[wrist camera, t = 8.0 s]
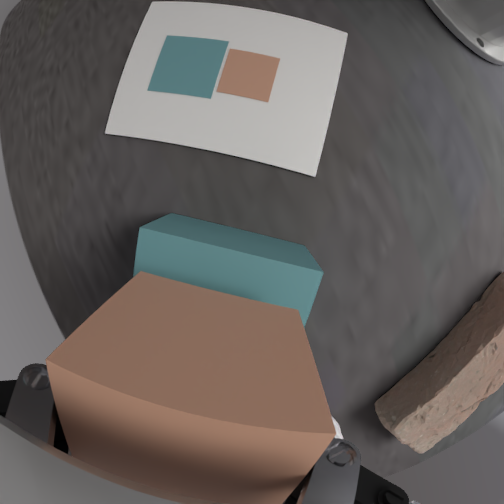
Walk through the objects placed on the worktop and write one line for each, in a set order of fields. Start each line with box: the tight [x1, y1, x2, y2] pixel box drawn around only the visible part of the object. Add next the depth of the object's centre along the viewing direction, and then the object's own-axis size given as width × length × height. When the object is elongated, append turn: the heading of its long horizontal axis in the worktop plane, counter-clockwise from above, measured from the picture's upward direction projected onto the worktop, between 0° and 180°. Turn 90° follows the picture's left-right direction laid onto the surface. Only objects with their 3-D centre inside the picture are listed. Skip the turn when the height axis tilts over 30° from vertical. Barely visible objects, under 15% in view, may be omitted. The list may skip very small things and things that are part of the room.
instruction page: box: [105, 1, 348, 177], centre depth 14 cm, size 10×13×1 cm
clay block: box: [46, 271, 336, 504], centre depth 8 cm, size 6×6×6 cm
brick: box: [374, 272, 504, 453], centre depth 17 cm, size 16×8×5 cm, turn 136°
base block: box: [133, 213, 323, 327], centre depth 15 cm, size 8×8×5 cm
